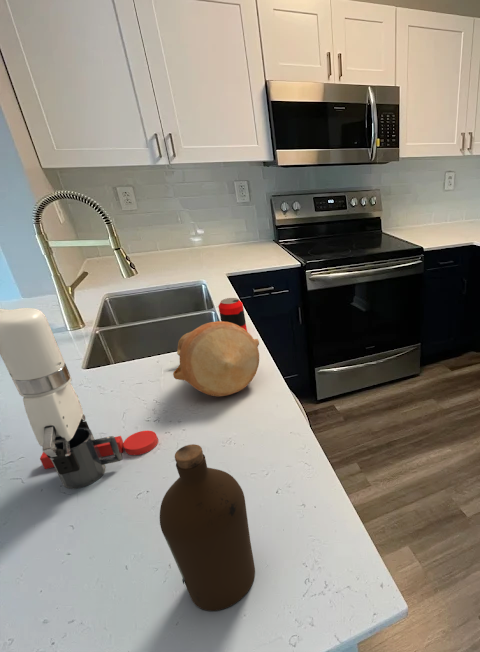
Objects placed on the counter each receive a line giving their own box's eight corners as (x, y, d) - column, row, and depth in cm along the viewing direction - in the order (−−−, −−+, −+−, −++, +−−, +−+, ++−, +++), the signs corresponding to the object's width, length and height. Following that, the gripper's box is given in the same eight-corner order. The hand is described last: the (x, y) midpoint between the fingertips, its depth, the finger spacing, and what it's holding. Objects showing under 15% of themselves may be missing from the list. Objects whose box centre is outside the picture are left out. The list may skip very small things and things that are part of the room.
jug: (172, 380, 92) (137, 349, 113) (236, 418, 105) (193, 384, 126) (229, 310, 97) (185, 293, 118) (284, 354, 110) (235, 332, 131)
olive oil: (261, 544, 69) (237, 421, 57) (257, 608, 60) (227, 476, 48) (193, 555, 67) (154, 431, 56) (177, 623, 58) (127, 490, 46)
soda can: (243, 338, 139) (237, 305, 133) (220, 339, 139) (214, 305, 133) (250, 329, 145) (244, 296, 140) (228, 329, 145) (222, 296, 140)
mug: (58, 493, 79) (40, 456, 75) (68, 467, 85) (52, 432, 81) (122, 478, 82) (108, 442, 78) (128, 455, 88) (115, 420, 84)
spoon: (41, 476, 83) (36, 465, 82) (51, 455, 88) (46, 445, 87) (156, 451, 89) (153, 440, 88) (159, 433, 95) (156, 423, 93)
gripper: (34, 360, 79) (67, 432, 87) (-4, 410, 65) (39, 491, 72) (80, 353, 81) (108, 424, 89) (53, 400, 67) (89, 480, 75)
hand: (77, 454), depth 81 cm, fingers open, 9 cm apart
